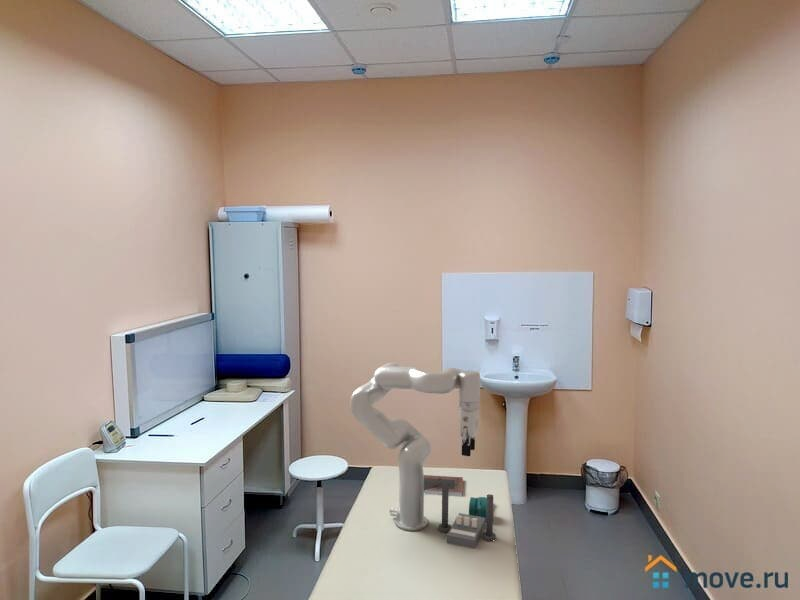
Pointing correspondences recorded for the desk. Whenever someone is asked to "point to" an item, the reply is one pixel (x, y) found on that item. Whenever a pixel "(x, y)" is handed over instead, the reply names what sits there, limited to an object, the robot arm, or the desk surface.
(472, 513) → the teal block
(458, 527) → the breaker panel
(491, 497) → the post right
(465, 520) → the breaker bank
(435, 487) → the picture frame
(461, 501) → the desk surface
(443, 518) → the post left
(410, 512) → the robot arm
